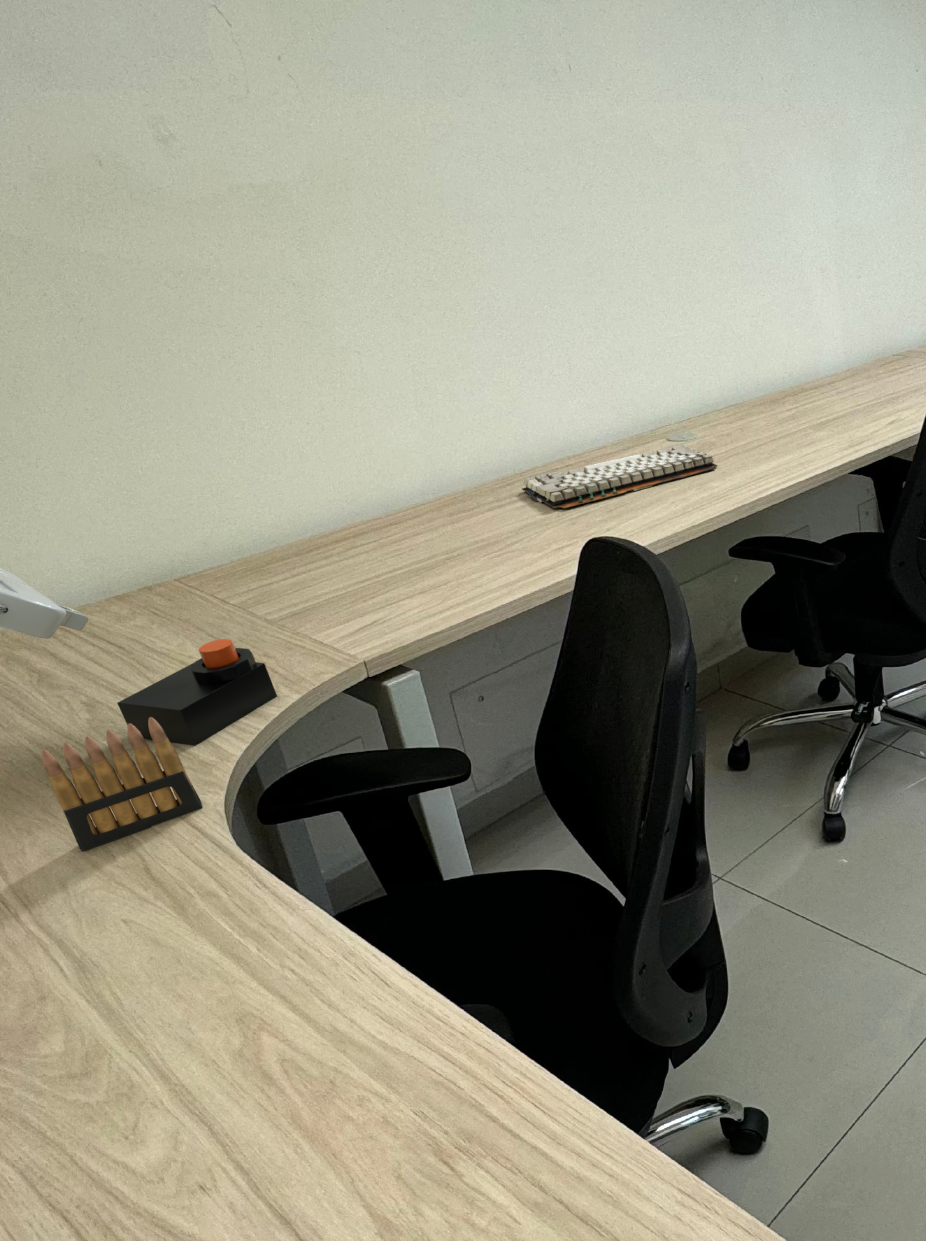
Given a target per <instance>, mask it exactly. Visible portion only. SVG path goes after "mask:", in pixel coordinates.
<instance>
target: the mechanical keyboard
mask: <svg viewBox="0 0 926 1241" xmlns="http://www.w3.org/2000/svg"><path fill="white" fill-rule="evenodd" d="M714 462H715V460H714V458H713V455H712V454H709V453H707V452H705V451H700V450H695V449H691V447H689V446H685V445H684V444H679V445H676V446H672V447H671V449H670V448H669V447H666V448H663V449H657V450H656V452H655V451H649V452H645V453H642V454H641V455H640V454H632V455H630V456H629V455H628V456H624V457H620V458H615V459H611V460H607V461H602V462H598V463H594V464H589V465H585V466H584V469H582V468H581V467H578V468H573V469H569V470H567V473H566V472H565V471H561V472H558V473H557V472H555V471H554V470H551V471H549V472H546V473H545V474H546V475H544V474H543V473H540V474H537V475H535V476H534V477H533V476H527V477H524V480H523V485H525V487H522V488H521V491H524V492H526V494H527V495H528V496H529V498H530V500H531V499H533V500H534V502H539V503H542V502H543V503H545V504H546V505H547V506H549V507H552V508H553V509H556V508H562V509H567V508H571V507H574V506H579V505H582V504H587V503H590V502H595V501H599V500H602V499H606V498H610V497H614V496H619V495H621V494H625V493H627V492H630V491H634V492H636V491H639V490H642V489H647V488H650V487H652V486H653V485H659V484H661V483H666V482H669V481H673V480H677V479H683V478H686V477H689V476H693V475H697V474H700V473H705V472H709V471H712V470H715V468H716V467H718V464H715V463H714Z"/></svg>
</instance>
